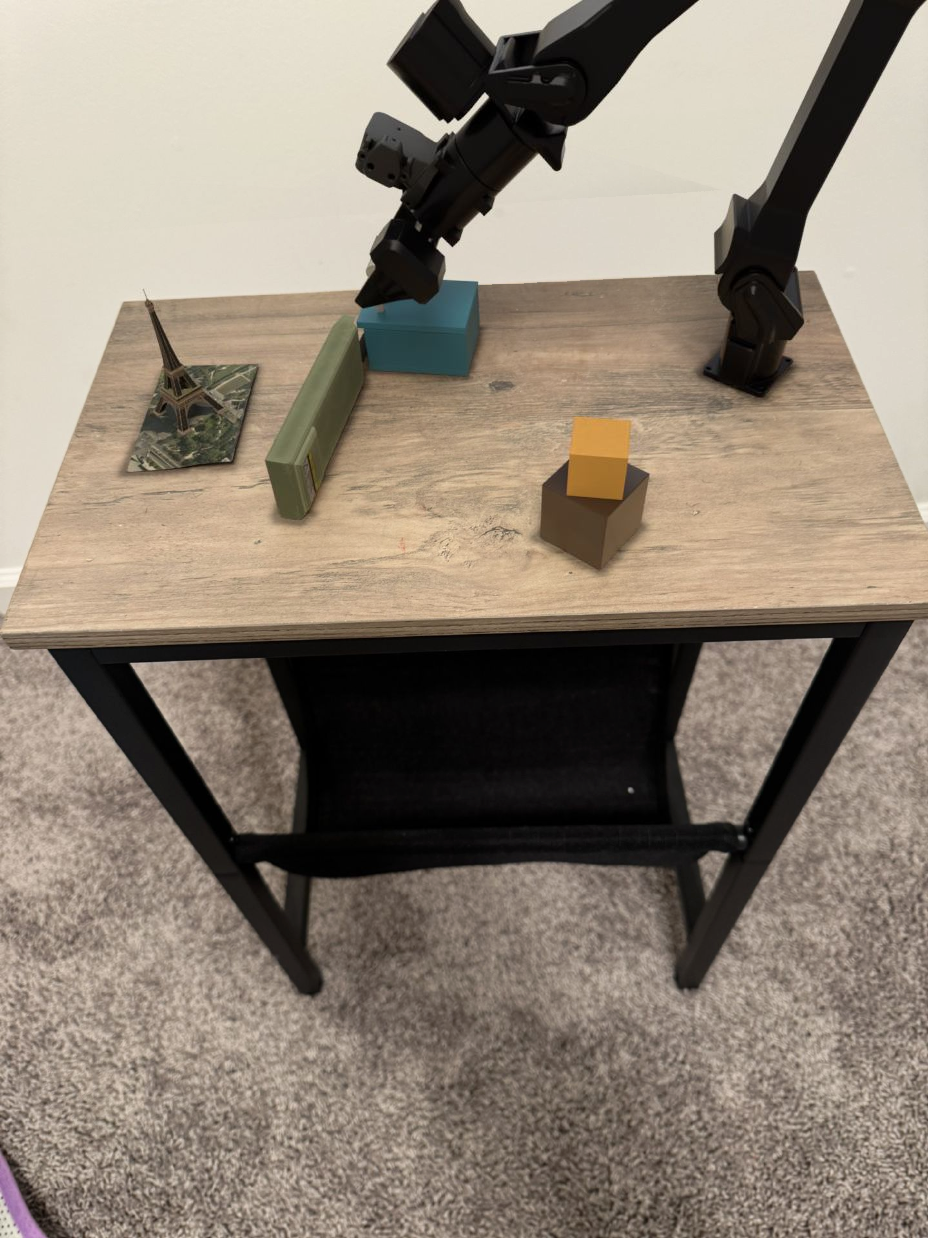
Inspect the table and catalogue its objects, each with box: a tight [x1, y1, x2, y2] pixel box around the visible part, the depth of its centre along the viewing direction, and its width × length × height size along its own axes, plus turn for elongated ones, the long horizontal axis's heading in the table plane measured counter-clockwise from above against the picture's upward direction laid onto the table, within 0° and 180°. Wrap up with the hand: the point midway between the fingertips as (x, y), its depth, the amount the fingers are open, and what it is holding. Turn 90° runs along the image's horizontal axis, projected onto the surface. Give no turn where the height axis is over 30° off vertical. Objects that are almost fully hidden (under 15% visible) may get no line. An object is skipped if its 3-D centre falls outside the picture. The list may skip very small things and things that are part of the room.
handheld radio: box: [264, 314, 368, 521], centre depth 76 cm, size 7×3×25 cm
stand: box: [539, 459, 651, 571], centre depth 66 cm, size 6×6×6 cm
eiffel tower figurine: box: [126, 288, 259, 473], centre depth 75 cm, size 15×10×13 cm
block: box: [567, 416, 632, 500], centre depth 62 cm, size 4×4×4 cm
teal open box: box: [363, 290, 481, 377], centre depth 83 cm, size 10×8×5 cm
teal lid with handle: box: [355, 258, 479, 334], centre depth 79 cm, size 11×8×6 cm
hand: (370, 276), depth 79 cm, fingers open, 9 cm apart
